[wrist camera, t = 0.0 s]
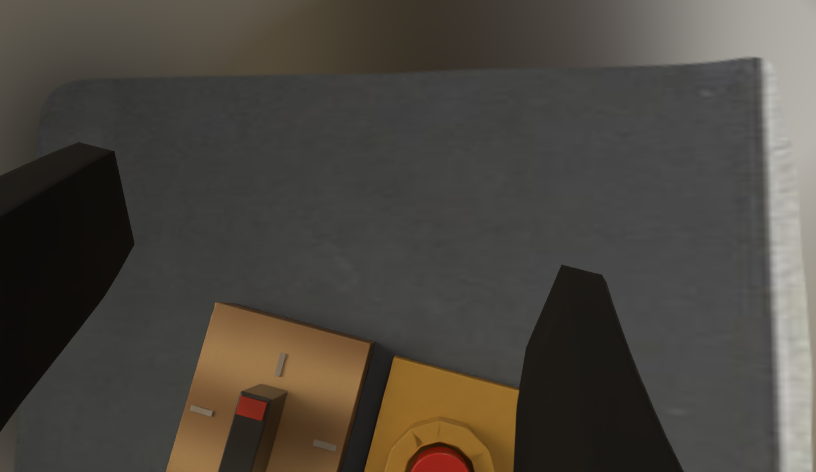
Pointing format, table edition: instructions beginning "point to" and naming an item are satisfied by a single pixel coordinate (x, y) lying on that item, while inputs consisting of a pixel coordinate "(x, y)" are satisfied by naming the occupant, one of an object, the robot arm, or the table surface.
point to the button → (439, 461)
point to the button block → (443, 419)
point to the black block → (253, 429)
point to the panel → (281, 368)
